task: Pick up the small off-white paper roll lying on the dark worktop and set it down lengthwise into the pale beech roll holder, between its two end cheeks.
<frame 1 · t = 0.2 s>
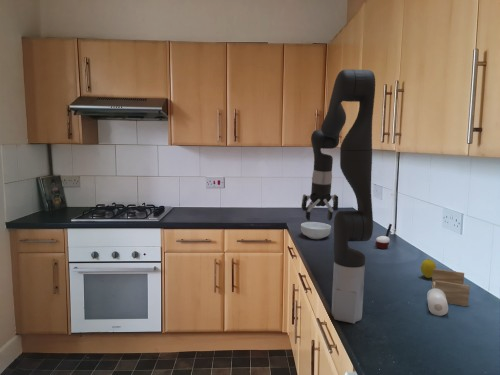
hand: (318, 219, 145), 22 cm above the worktop, tool pointing down, fingers open, 8 cm apart
lemon: (427, 278, 143), on the worktop
cereal bowl: (315, 237, 201), on the worktop
roll holder: (448, 295, 127), on the worktop
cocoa: (382, 248, 183), on the worktop
paper roll: (437, 301, 117), point 3 cm above the worktop, tilted 6°
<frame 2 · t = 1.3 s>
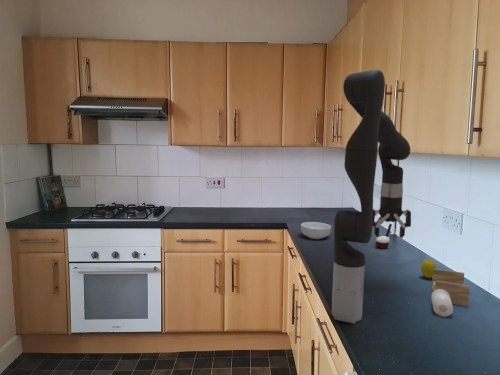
hand: (389, 236, 134), 19 cm above the worktop, tool pointing down, fingers open, 8 cm apart
paper roll: (441, 302, 116), point 3 cm above the worktop, tilted 33°
everything else where it was.
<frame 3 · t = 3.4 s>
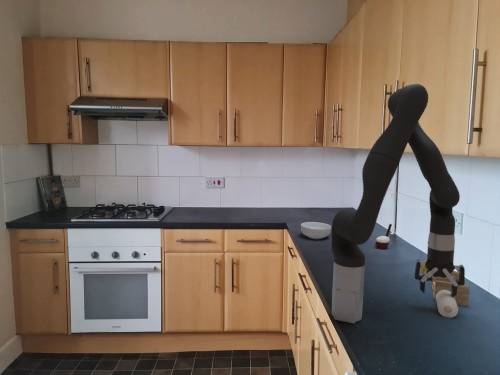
hand: (437, 294, 117), 5 cm above the worktop, tool pointing down, fingers open, 8 cm apart
paper roll: (446, 303, 115), point 3 cm above the worktop, tilted 64°, touching gripper
everything else where it was.
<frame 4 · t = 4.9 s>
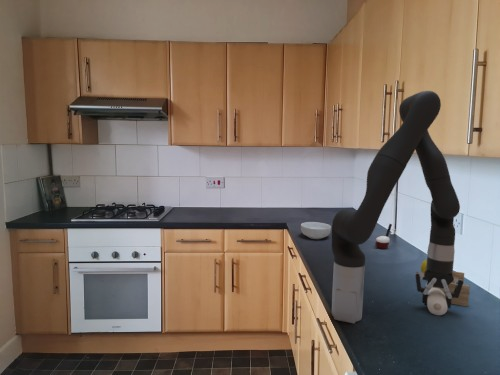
hand: (436, 306, 117), 1 cm above the worktop, tool pointing down, fingers closed on paper roll, 5 cm apart
paper roll: (436, 301, 116), point 3 cm above the worktop, tilted 39°, touching gripper
everything else where it was.
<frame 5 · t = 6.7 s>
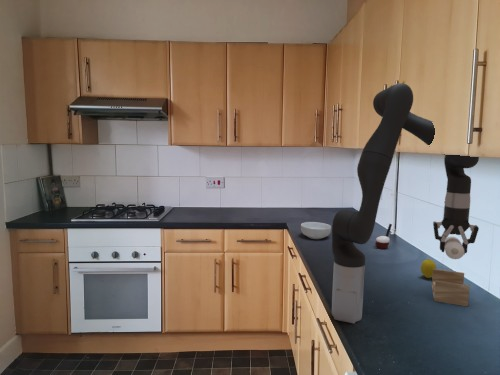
hand: (452, 252, 125), 16 cm above the worktop, tool pointing down, fingers closed on paper roll, 5 cm apart
paper roll: (453, 247, 125), point 18 cm above the worktop, tilted 39°, touching gripper
everything else where it was.
when the fingers open (3 cm above the worktop, at t = 8.9 s): paper roll drops 2 cm, resting on roll holder.
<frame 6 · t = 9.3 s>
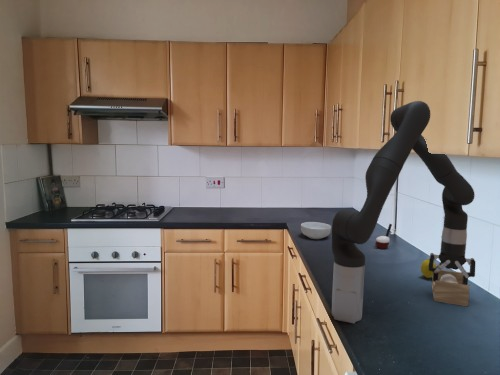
hand: (449, 284, 127), 4 cm above the worktop, tool pointing down, fingers open, 8 cm apart
paper roll: (449, 285, 127), point 4 cm above the worktop, tilted 40°, touching roll holder
everything else where it was.
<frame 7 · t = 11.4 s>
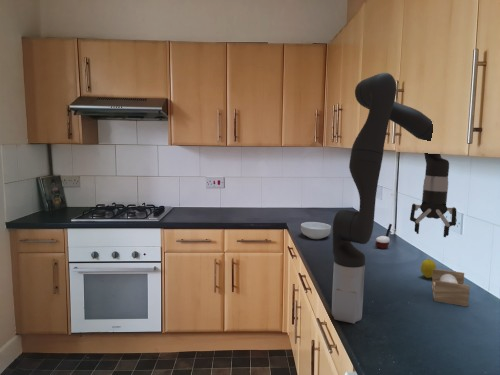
hand: (430, 235, 125), 22 cm above the worktop, tool pointing down, fingers open, 8 cm apart
nothing on the worktop moved.
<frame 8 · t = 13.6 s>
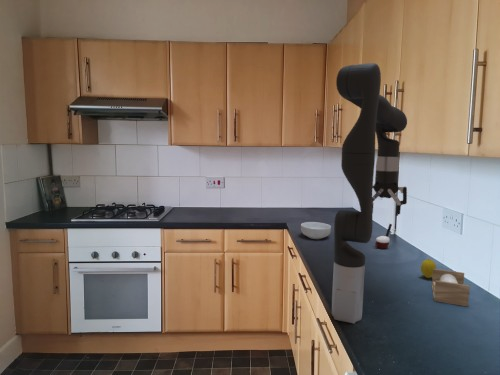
hand: (384, 214, 129), 28 cm above the worktop, tool pointing down, fingers open, 8 cm apart
nothing on the worktop moved.
at the end: paper roll 0.2 cm off-centre on the roll holder, point 3.8 cm above the roll holder's base; the gripper is holding nothing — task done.
